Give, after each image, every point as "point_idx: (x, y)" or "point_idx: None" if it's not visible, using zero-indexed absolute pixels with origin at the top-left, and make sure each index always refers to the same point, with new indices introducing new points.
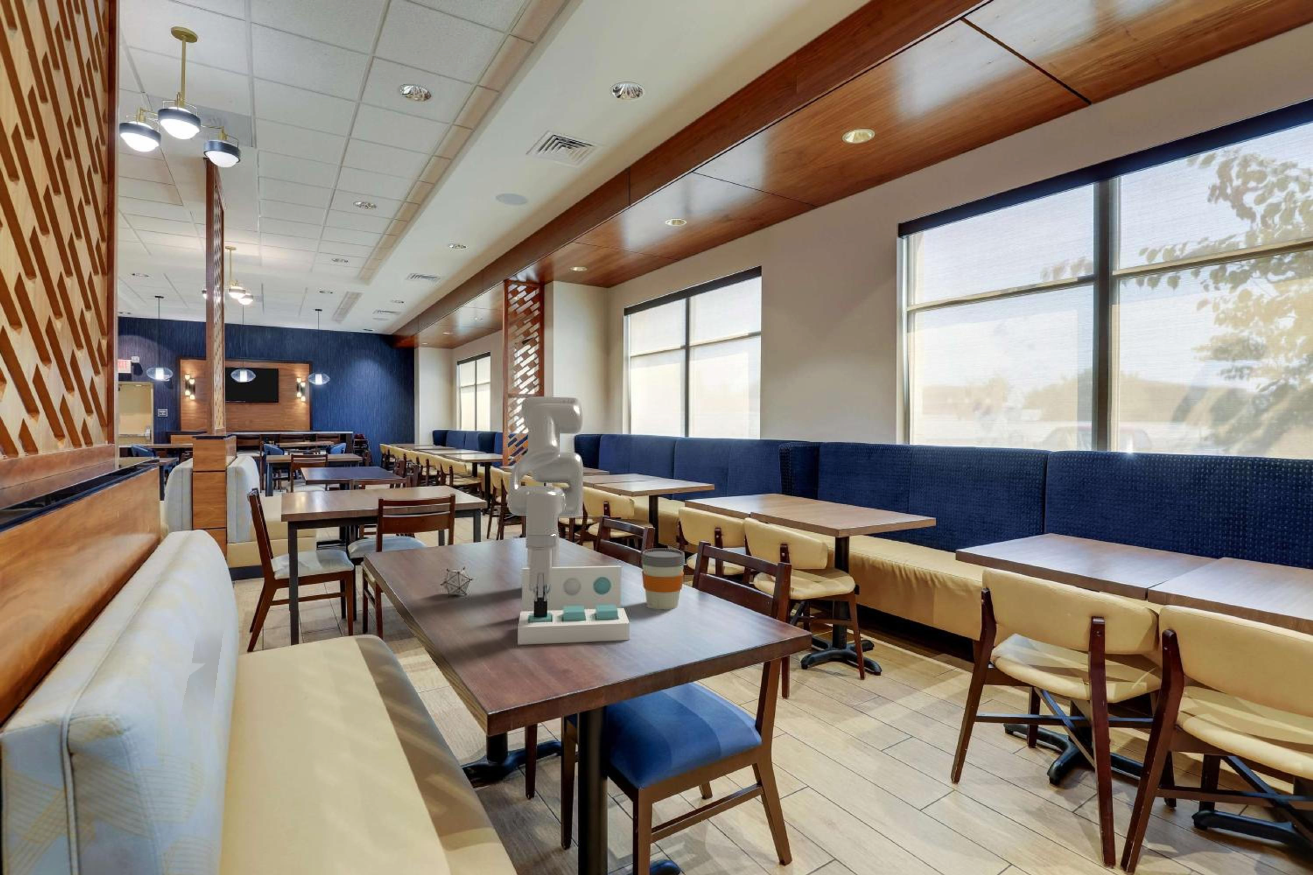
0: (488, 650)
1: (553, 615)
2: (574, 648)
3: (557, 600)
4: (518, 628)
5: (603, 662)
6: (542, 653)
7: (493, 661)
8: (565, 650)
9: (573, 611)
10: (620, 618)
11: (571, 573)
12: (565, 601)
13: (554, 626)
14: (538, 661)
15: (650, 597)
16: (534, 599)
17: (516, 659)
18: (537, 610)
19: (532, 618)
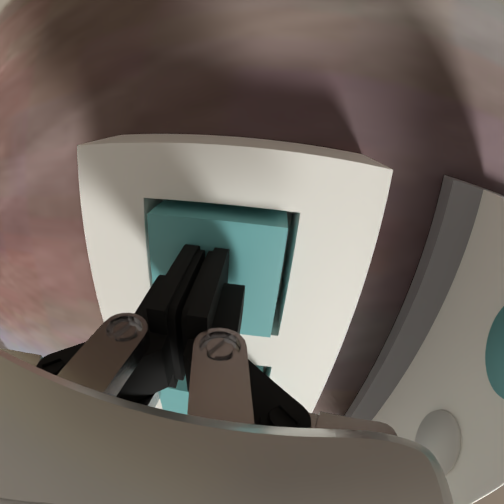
0: (88, 33)
1: (257, 336)
2: (94, 317)
3: (451, 361)
4: (81, 146)
5: (39, 343)
6: (51, 226)
7: (14, 82)
8: (78, 293)
9: (174, 411)
10: None
11: (451, 489)
12: (433, 380)
13: (102, 312)
14: (12, 212)
15: None
16: (200, 319)
17: (17, 148)
18: (152, 287)
19: (170, 232)
